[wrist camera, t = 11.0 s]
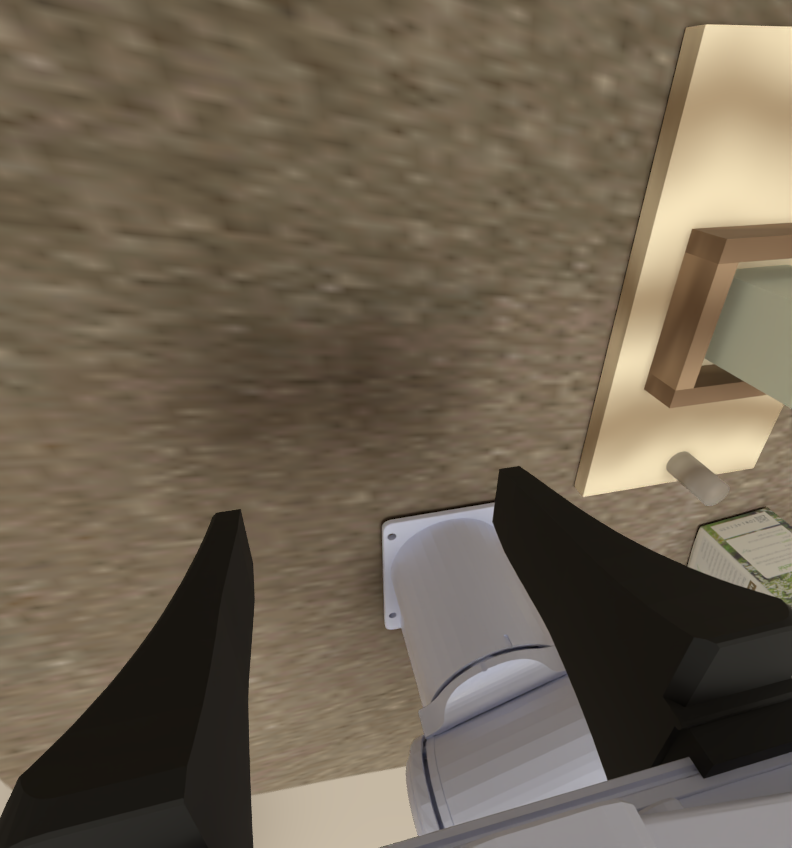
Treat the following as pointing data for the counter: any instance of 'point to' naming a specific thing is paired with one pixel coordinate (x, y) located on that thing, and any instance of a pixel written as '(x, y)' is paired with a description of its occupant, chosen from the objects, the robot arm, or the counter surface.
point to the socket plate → (697, 271)
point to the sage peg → (757, 331)
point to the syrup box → (748, 553)
